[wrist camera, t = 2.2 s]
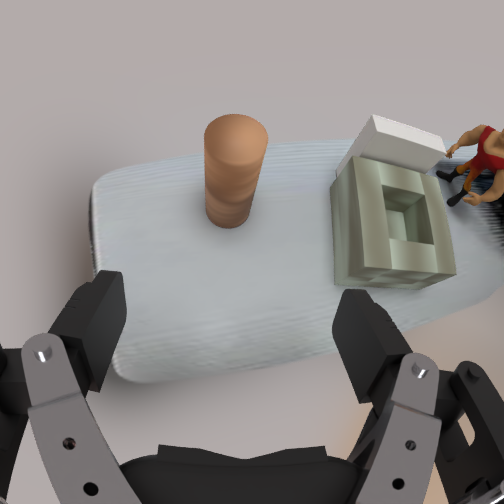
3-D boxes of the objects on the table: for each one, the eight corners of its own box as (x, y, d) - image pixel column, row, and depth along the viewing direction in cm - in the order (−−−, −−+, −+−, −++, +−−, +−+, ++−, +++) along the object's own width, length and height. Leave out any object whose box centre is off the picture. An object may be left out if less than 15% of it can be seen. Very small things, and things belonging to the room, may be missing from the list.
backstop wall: (397, 182, 31) (440, 137, 23) (400, 197, 31) (446, 153, 22) (336, 169, 30) (372, 114, 22) (337, 185, 30) (377, 131, 21)
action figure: (427, 157, 34) (492, 87, 20) (443, 160, 34) (507, 96, 20) (450, 221, 31) (535, 161, 17) (467, 221, 32) (547, 166, 18)
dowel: (250, 191, 28) (268, 117, 19) (248, 230, 27) (268, 164, 17) (208, 187, 28) (208, 112, 18) (203, 226, 26) (200, 158, 17)
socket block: (407, 204, 31) (437, 177, 25) (418, 289, 28) (456, 274, 22) (329, 189, 30) (352, 155, 24) (333, 285, 26) (364, 266, 21)
